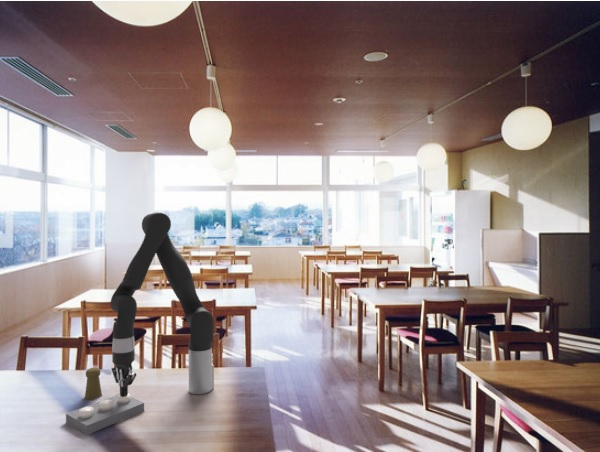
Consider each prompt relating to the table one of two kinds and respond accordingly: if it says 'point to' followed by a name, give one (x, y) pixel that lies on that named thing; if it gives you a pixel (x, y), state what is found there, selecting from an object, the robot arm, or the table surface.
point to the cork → (93, 384)
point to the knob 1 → (86, 412)
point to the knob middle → (105, 405)
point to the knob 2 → (124, 399)
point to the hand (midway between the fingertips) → (123, 395)
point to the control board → (104, 415)
